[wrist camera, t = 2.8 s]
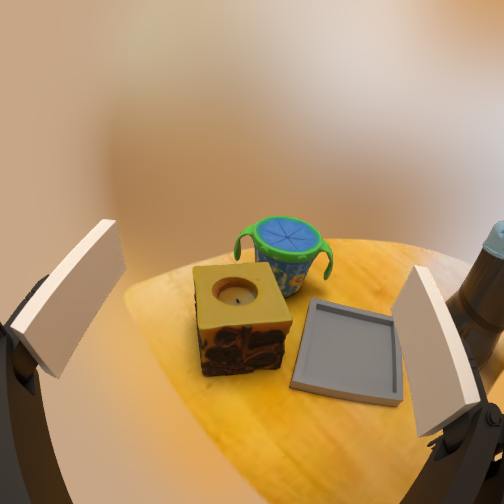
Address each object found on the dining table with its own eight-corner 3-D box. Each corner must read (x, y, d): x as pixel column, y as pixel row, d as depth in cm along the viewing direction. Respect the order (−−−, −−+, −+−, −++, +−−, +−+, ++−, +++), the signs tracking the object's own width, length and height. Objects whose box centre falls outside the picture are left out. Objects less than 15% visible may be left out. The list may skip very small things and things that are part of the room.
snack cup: (326, 277, 49) (341, 229, 43) (317, 318, 41) (336, 267, 35) (246, 254, 53) (250, 206, 47) (223, 289, 44) (224, 236, 38)
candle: (281, 369, 33) (297, 321, 28) (202, 379, 31) (197, 332, 25) (263, 312, 41) (271, 260, 35) (195, 318, 39) (191, 265, 33)
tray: (393, 325, 40) (398, 317, 39) (395, 406, 28) (403, 400, 27) (308, 306, 43) (311, 297, 42) (289, 387, 31) (292, 380, 30)
